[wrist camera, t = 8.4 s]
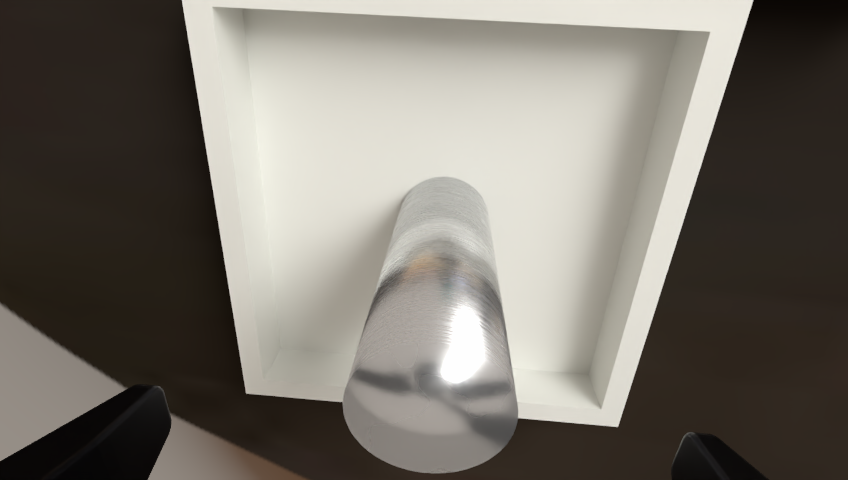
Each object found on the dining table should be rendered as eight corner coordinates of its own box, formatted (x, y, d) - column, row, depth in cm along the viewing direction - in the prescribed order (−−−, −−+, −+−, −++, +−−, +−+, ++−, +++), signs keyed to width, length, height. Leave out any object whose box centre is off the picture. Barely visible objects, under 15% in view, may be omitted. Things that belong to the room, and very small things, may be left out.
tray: (600, 380, 20) (617, 426, 18) (269, 352, 20) (245, 393, 18) (705, 1, 13) (754, -3, 11) (222, -22, 14) (177, -30, 12)
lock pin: (483, 261, 17) (505, 480, 9) (398, 255, 17) (345, 465, 9) (493, 179, 16) (530, 352, 8) (400, 173, 16) (340, 336, 8)
